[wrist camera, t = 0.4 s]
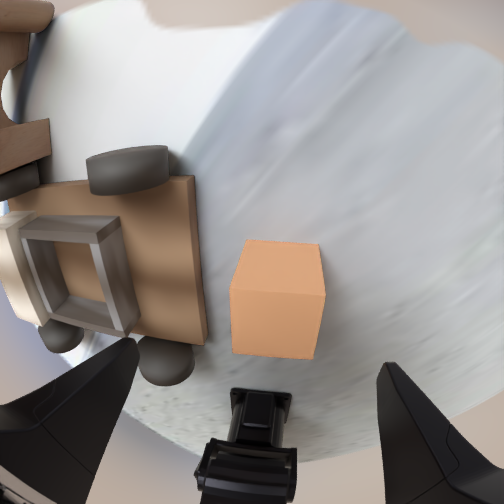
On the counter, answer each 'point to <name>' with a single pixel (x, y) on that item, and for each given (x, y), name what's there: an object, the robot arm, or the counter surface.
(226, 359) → the counter surface
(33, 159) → the wooden toy
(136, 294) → the chassis
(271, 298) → the orange block
